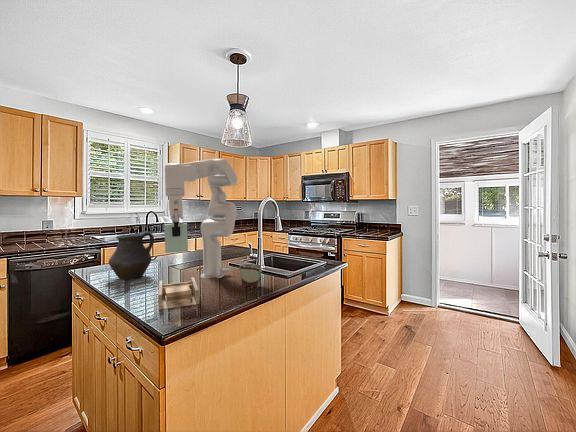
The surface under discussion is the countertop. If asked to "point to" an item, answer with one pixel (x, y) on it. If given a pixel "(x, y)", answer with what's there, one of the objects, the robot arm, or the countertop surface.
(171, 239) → the pale green slab
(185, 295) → the offcut
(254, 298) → the countertop surface
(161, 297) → the rack
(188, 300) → the offcut
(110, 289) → the countertop surface
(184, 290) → the offcut
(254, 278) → the food container
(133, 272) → the pitcher
